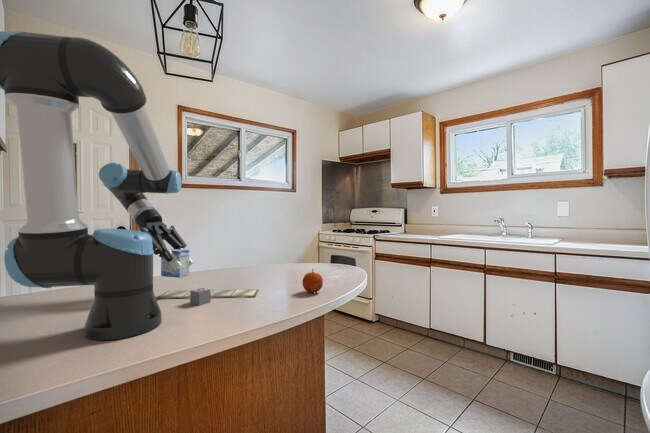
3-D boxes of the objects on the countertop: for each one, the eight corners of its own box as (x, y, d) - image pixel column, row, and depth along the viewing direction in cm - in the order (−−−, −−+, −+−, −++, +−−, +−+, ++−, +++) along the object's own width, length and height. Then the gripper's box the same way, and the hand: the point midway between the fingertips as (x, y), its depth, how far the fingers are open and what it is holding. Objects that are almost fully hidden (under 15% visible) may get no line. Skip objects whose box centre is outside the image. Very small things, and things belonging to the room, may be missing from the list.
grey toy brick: (210, 302, 91) (210, 289, 91) (199, 306, 88) (199, 292, 88) (201, 300, 93) (201, 287, 93) (190, 304, 90) (190, 290, 90)
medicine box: (160, 276, 99) (160, 250, 99) (171, 273, 103) (171, 248, 103) (179, 278, 96) (179, 251, 96) (190, 275, 101) (189, 249, 100)
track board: (259, 289, 106) (259, 288, 106) (255, 297, 97) (255, 296, 97) (168, 291, 103) (168, 290, 103) (155, 299, 94) (155, 297, 94)
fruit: (319, 296, 98) (320, 271, 98) (299, 294, 100) (299, 270, 100) (324, 290, 105) (325, 267, 105) (305, 289, 107) (306, 266, 107)
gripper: (160, 222, 112) (197, 268, 108) (115, 224, 96) (155, 279, 91) (171, 208, 111) (209, 254, 106) (127, 207, 94) (169, 263, 89)
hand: (184, 266), depth 98 cm, fingers closed on medicine box, 4 cm apart
